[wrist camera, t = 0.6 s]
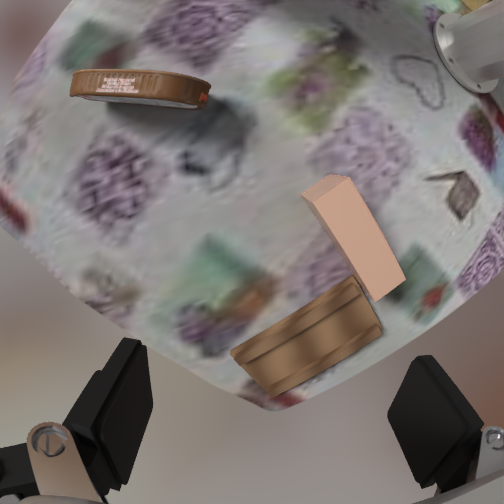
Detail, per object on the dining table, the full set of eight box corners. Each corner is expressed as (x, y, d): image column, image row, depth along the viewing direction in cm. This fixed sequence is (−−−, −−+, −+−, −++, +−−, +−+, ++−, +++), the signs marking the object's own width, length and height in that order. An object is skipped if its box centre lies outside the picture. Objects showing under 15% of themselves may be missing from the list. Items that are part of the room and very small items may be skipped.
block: (329, 174, 31) (348, 177, 24) (380, 258, 34) (406, 279, 27) (299, 194, 32) (312, 202, 25) (354, 277, 35) (375, 302, 28)
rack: (351, 274, 34) (357, 281, 32) (380, 325, 36) (386, 333, 34) (230, 350, 37) (229, 360, 35) (269, 390, 39) (269, 400, 37)
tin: (216, 91, 28) (205, 68, 20) (209, 118, 29) (195, 103, 21) (97, 81, 27) (59, 65, 19) (91, 106, 28) (51, 95, 20)
